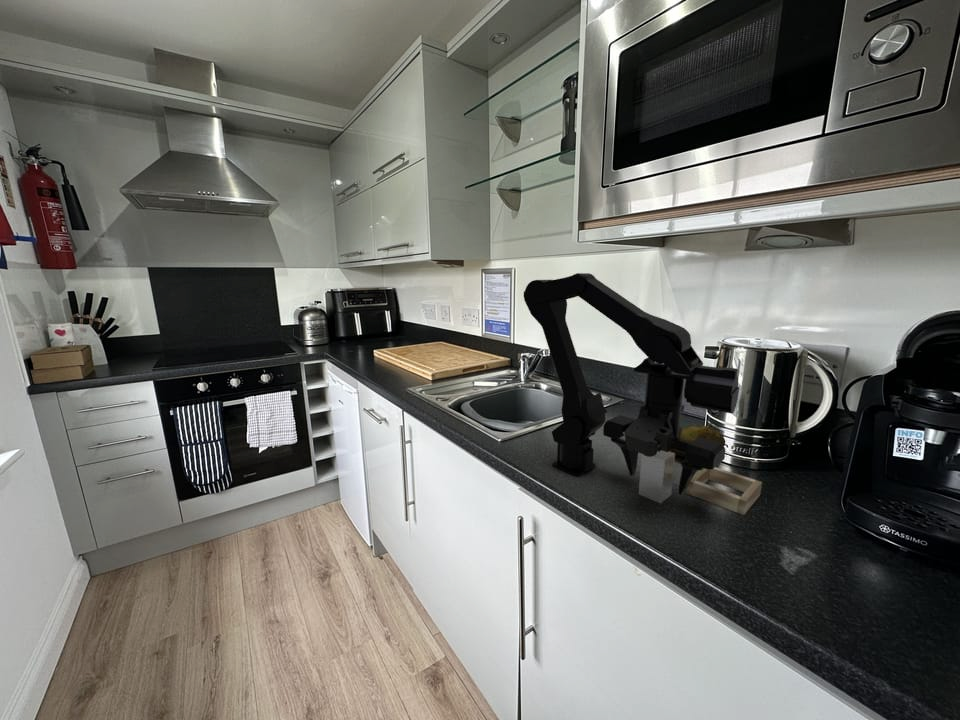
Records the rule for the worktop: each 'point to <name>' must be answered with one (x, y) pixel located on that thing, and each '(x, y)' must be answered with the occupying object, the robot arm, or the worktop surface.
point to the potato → (696, 432)
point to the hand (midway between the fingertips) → (655, 484)
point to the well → (722, 497)
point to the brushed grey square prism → (657, 476)
